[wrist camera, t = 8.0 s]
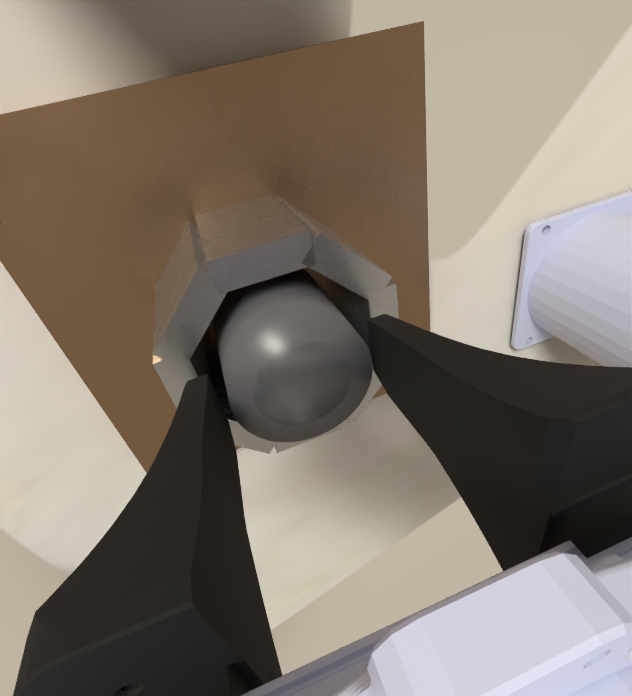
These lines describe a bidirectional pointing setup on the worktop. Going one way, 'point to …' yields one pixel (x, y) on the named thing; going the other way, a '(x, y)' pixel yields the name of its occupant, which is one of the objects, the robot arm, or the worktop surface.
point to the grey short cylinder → (289, 358)
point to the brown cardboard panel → (217, 213)
